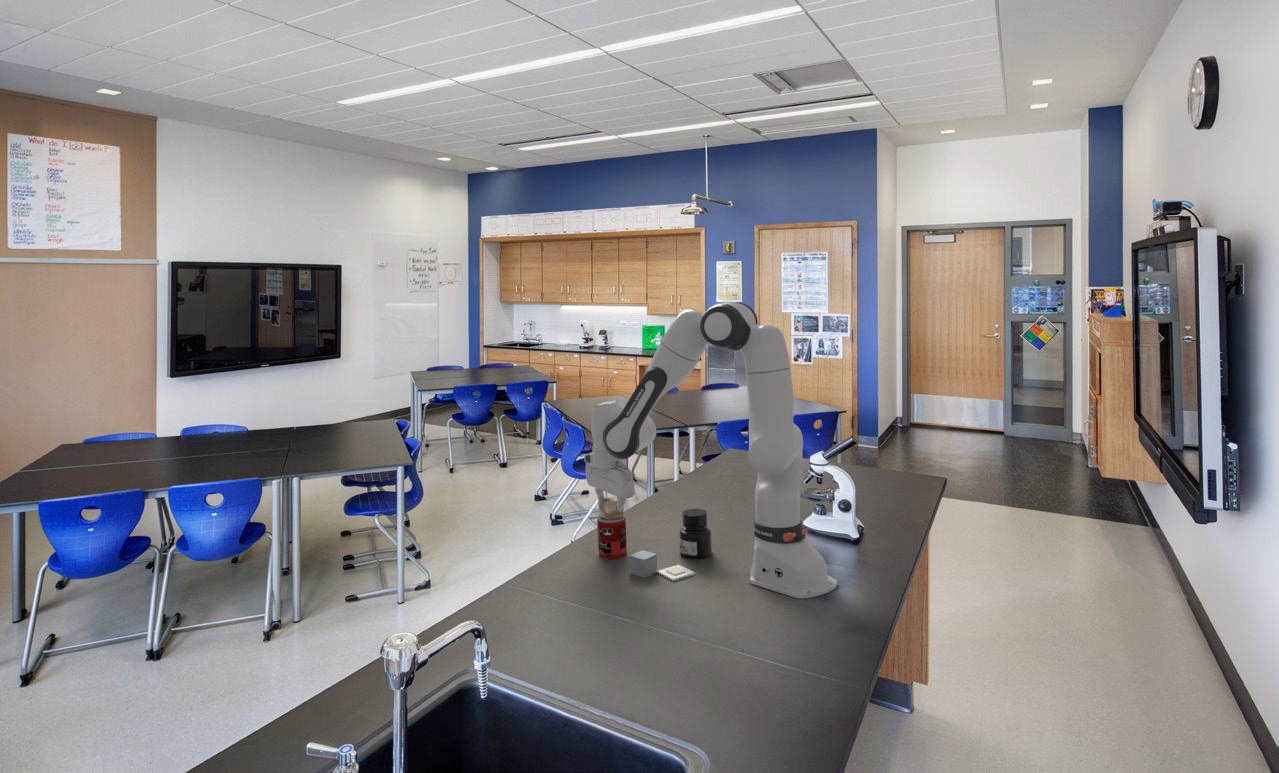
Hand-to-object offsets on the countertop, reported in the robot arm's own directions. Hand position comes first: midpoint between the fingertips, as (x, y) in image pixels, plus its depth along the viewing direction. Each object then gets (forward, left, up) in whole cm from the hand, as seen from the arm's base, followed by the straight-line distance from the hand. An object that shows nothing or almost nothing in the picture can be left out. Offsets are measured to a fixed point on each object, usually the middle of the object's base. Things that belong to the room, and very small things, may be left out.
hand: (610, 507), depth 200 cm
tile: (-23, -5, -14) cm, 27 cm away
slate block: (-17, +1, -14) cm, 22 cm away
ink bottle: (-15, -18, -14) cm, 27 cm away
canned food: (0, 0, -14) cm, 14 cm away
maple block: (0, 0, -3) cm, 3 cm away
